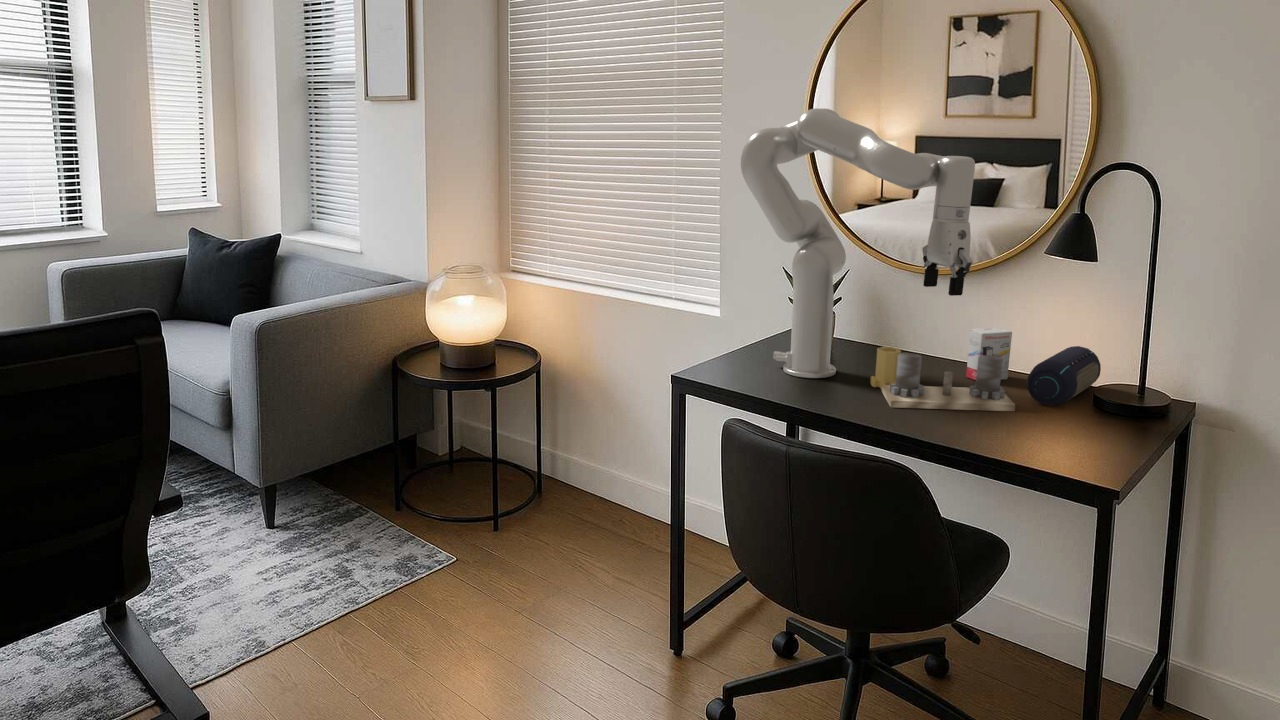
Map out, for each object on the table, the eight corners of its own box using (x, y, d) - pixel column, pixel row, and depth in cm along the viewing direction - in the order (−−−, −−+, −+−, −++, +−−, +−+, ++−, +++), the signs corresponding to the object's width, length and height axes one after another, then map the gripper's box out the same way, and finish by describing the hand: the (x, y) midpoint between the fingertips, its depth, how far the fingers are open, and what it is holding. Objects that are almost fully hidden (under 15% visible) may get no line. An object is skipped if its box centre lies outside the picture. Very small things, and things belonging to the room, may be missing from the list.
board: (890, 407, 209) (894, 362, 206) (881, 391, 220) (884, 348, 218) (1014, 411, 207) (1019, 366, 204) (998, 394, 219) (1003, 351, 216)
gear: (873, 389, 222) (875, 353, 220) (868, 380, 229) (871, 345, 227) (904, 390, 221) (907, 354, 219) (899, 381, 228) (902, 346, 226)
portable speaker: (1066, 413, 206) (1072, 368, 204) (1019, 404, 212) (1024, 360, 210) (1102, 388, 225) (1108, 346, 222) (1058, 380, 231) (1063, 339, 228)
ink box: (977, 382, 228) (982, 333, 225) (964, 376, 233) (969, 328, 230) (1008, 379, 231) (1014, 331, 227) (995, 374, 235) (1000, 326, 232)
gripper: (990, 218, 205) (980, 298, 210) (943, 208, 221) (934, 282, 226) (959, 219, 203) (950, 299, 208) (914, 209, 219) (906, 283, 224)
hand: (942, 290), depth 217 cm, fingers open, 9 cm apart
